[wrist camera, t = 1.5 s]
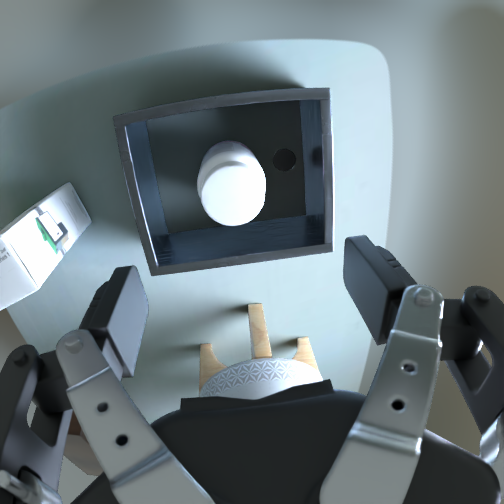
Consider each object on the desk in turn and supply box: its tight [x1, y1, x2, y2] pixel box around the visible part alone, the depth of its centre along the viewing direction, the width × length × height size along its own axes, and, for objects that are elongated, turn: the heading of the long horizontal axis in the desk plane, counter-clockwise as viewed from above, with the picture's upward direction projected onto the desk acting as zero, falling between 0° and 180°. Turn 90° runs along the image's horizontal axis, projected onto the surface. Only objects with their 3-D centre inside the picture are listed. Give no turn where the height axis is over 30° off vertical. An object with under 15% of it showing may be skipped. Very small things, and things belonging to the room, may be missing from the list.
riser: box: [63, 410, 104, 476], centre depth 35 cm, size 14×7×12 cm, turn 6°
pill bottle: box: [197, 141, 266, 226], centre depth 23 cm, size 5×5×8 cm
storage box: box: [113, 88, 334, 276], centre depth 24 cm, size 15×13×6 cm
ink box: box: [0, 183, 92, 310], centre depth 22 cm, size 9×5×12 cm, turn 112°
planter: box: [199, 303, 323, 400], centre depth 29 cm, size 13×13×18 cm
